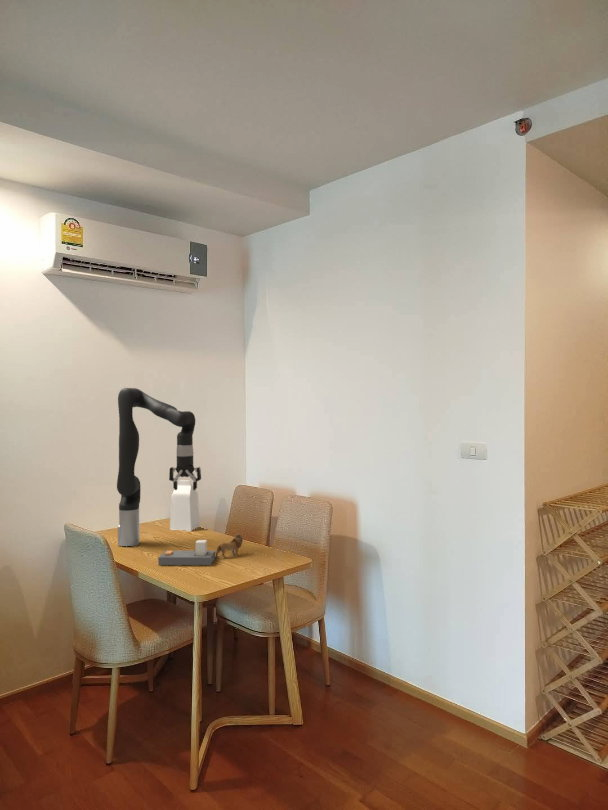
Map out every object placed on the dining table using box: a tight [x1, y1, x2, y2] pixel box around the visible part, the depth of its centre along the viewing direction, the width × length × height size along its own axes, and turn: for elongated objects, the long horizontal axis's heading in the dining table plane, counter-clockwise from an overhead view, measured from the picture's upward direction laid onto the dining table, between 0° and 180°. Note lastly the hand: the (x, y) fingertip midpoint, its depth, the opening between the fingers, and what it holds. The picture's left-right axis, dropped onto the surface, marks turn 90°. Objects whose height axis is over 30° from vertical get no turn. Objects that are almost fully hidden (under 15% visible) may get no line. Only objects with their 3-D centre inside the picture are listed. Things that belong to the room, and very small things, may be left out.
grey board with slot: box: [157, 550, 216, 567], centre depth 230 cm, size 22×10×4 cm, turn 88°
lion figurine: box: [215, 533, 244, 560], centre depth 238 cm, size 15×5×9 cm, turn 134°
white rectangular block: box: [195, 539, 208, 556], centre depth 230 cm, size 4×4×9 cm
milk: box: [169, 479, 201, 532], centre depth 290 cm, size 12×12×26 cm
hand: (185, 489), depth 247 cm, fingers open, 8 cm apart
